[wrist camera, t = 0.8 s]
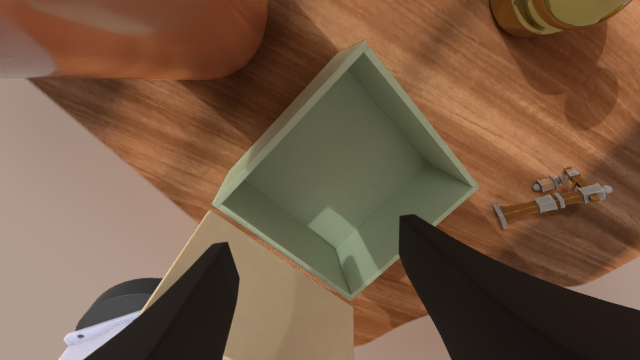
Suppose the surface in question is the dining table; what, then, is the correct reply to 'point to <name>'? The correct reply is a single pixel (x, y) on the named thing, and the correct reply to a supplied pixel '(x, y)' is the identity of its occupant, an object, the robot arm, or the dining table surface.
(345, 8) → the dining table surface
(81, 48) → the vase
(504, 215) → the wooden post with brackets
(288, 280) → the door
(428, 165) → the box
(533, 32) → the brass weight
